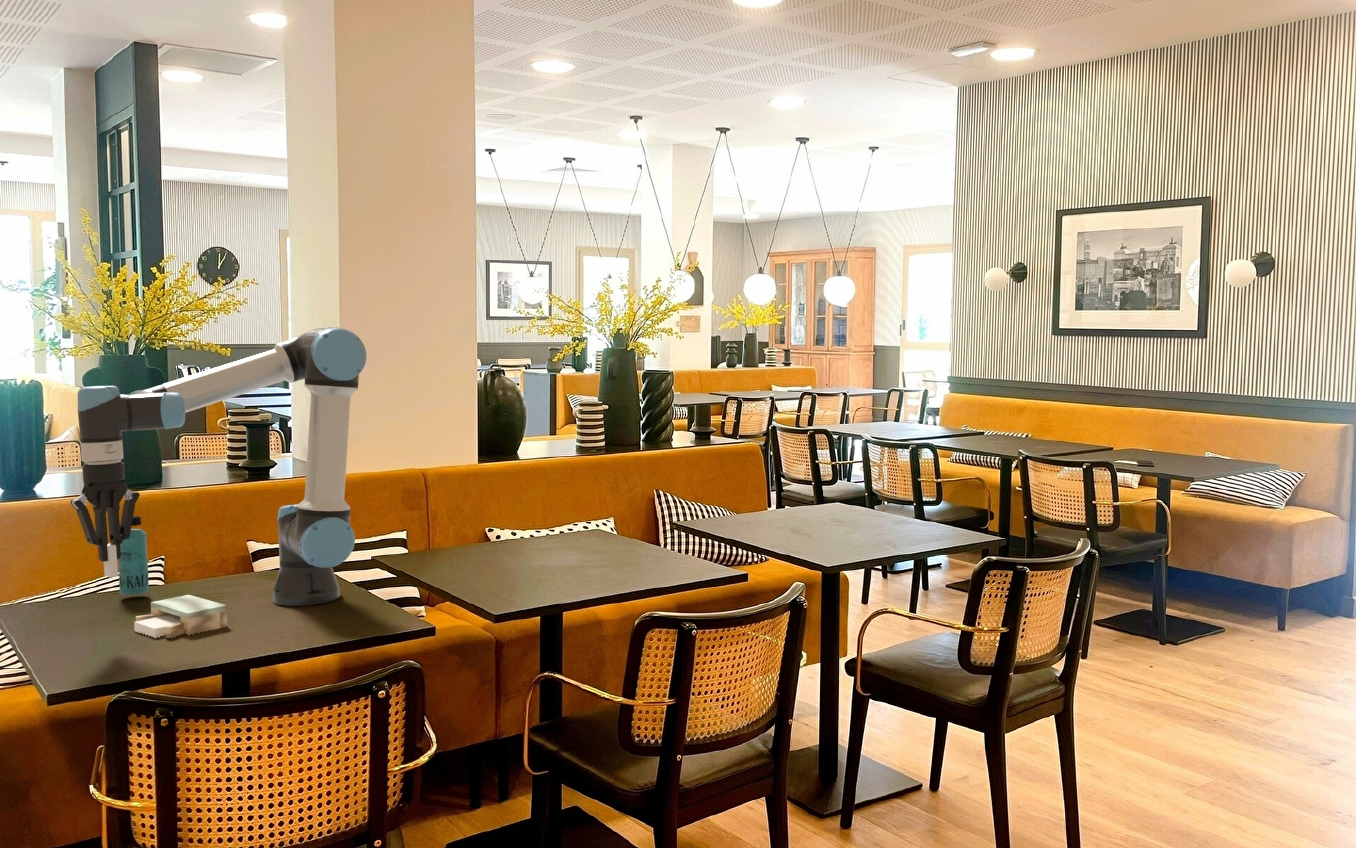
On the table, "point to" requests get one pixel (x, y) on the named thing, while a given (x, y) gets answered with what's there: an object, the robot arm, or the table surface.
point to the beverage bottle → (134, 562)
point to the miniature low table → (189, 614)
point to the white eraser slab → (156, 625)
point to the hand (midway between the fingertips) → (111, 575)
